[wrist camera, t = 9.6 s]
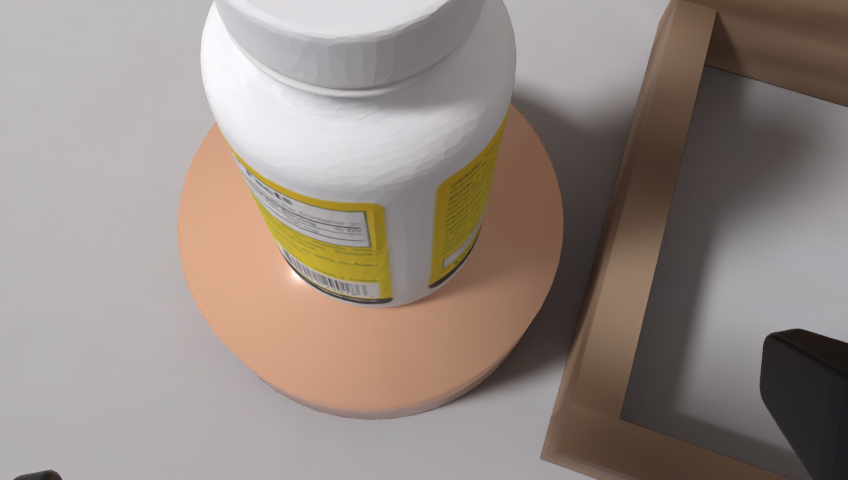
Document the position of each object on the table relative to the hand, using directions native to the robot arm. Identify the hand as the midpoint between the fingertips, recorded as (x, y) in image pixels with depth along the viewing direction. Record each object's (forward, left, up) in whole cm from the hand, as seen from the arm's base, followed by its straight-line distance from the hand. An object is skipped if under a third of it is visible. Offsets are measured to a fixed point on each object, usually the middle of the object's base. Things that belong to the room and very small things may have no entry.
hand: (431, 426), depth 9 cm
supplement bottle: (+6, -3, -8) cm, 10 cm away
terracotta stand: (+6, -3, -11) cm, 13 cm away
